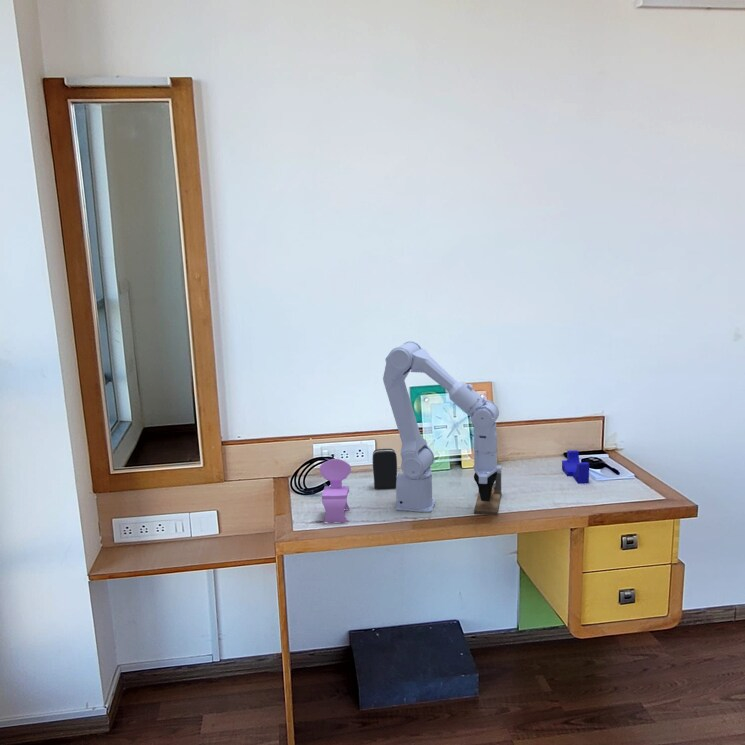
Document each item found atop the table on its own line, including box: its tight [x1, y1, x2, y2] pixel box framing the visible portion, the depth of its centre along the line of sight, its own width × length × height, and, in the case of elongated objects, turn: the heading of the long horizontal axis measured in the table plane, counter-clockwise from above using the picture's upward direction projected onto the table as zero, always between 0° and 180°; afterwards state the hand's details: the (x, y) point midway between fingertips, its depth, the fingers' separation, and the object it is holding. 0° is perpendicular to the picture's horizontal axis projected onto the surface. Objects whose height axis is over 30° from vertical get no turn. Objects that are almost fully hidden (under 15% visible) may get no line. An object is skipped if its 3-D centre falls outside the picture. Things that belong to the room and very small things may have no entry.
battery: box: [372, 448, 398, 490], centre depth 201 cm, size 7×4×11 cm, turn 93°
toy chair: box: [318, 458, 352, 523], centre depth 182 cm, size 8×9×15 cm
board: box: [473, 492, 502, 516], centre depth 188 cm, size 15×6×1 cm, turn 166°
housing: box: [493, 470, 502, 495], centre depth 193 cm, size 3×6×6 cm, turn 76°
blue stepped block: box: [561, 449, 590, 485], centre depth 204 cm, size 12×4×6 cm, turn 0°
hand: (485, 500), depth 180 cm, fingers closed
